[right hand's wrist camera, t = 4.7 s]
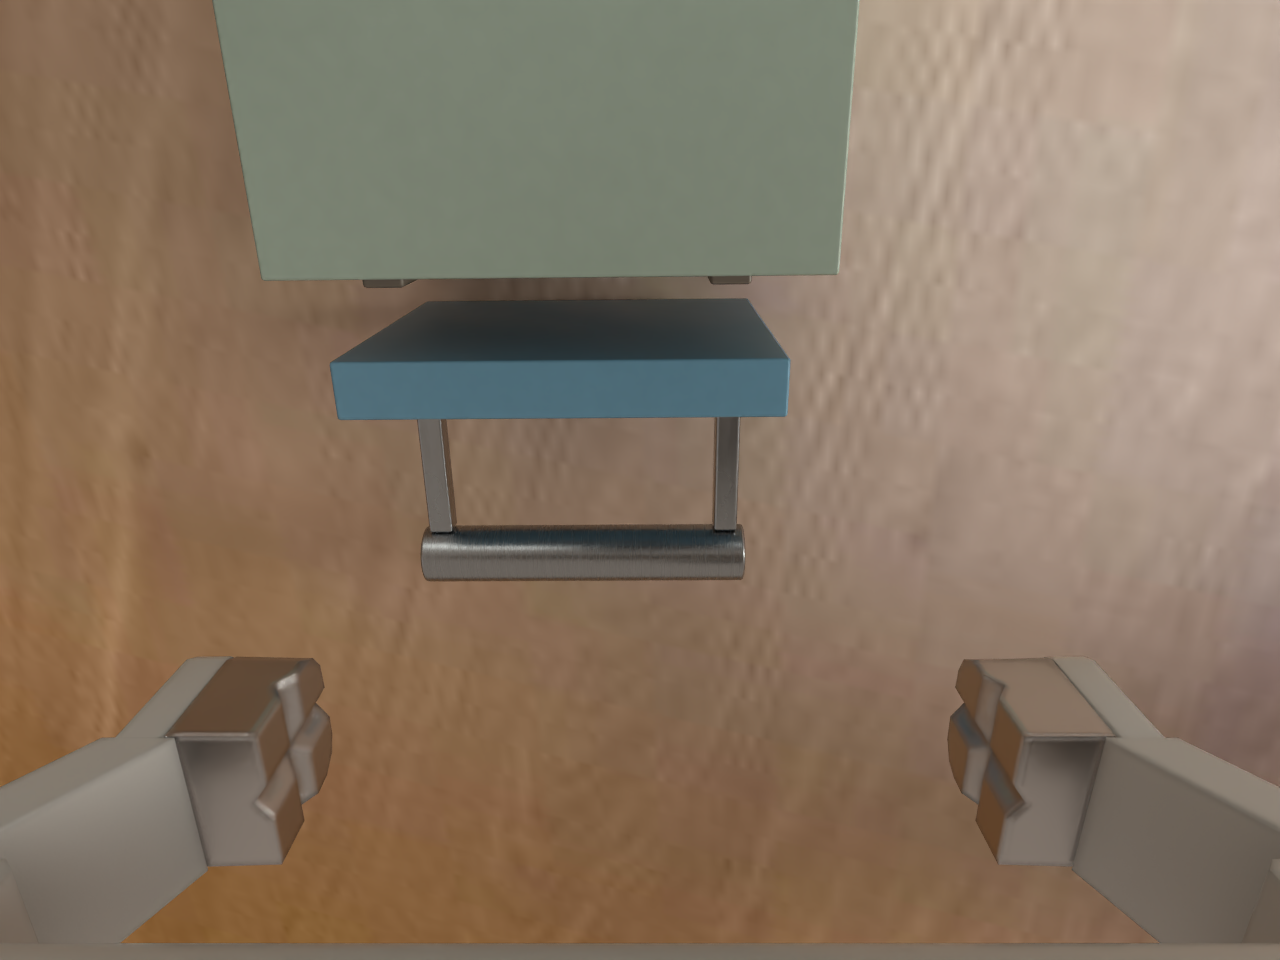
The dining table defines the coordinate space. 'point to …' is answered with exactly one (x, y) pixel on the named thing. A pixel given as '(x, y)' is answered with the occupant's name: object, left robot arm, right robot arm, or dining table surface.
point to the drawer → (571, 415)
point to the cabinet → (541, 136)
